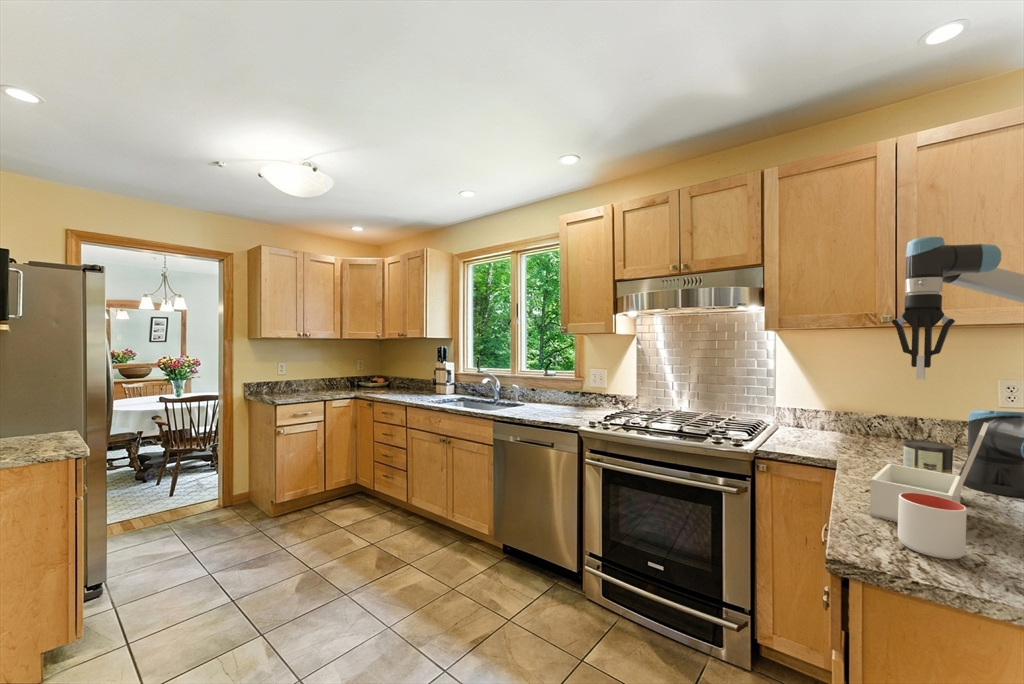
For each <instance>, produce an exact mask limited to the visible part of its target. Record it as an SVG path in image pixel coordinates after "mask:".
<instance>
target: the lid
mask: <svg viewBox="0 0 1024 684" xmlns="http://www.w3.org/2000/svg"><path fill="white" fill-rule="evenodd" d="M988 424H989V423H985V422H984V424H983V426H982V428H981V430H980V433H979V435H978V437H977V439H976V442H975V444H974V446H973V449H972V451H971V453H970V456H969V458H968V460H967V459H966V460H967V462H966V461H965V462H966V465H965V467H964V469H963V472H962V474H961V476H960V479H959V481H958V483H957V485H956V488H955V490H954V492H953V495H954V496H956V497H958V494H959V492H960V490H962V487H963V486H964V485H963V483H964V481H965V478H966V476H967V474H968V472H969V470H970V468H971V466H972V464H973V461H974V459H975V457H976V454H977V452H978V450H979V447H980V445H981V442H982V440H983V437H984V435H985V432H986V430H987V427H988Z"/></svg>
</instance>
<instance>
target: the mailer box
mask: <svg viewBox="0 0 1024 684" xmlns="http://www.w3.org/2000/svg"><path fill="white" fill-rule="evenodd" d="M959 479H960V476H959V475H957V474H956V475H955V474H952V475H951V474H945V473H940V472H934V471H928V470H923V469H917V468H912V467H906V466H903V465H899V464H894V463H888V462H887V464H886V465H885V466H884V467H882V468H881V469H880V470H879V471H878V472H877V473H876V474H875V475H874V476H873V477H871V479H870V491H869V492H870V494H869V516H870V515H871V516H870V517H872V516H874V517H873V518H876V517H878V518H877V519H880V518H882V519H881V520H884V519H887V520H886V521H888V520H890V521H889V522H892V521H894V522H893V523H895V522H897V523H896V524H898V504H899V494H901V493H920V494H927V495H932V496H937V497H941V498H945V499H948V500H952V501H954V502H957V503H959V504H961V495H962V494H961V490H962V489H961V490H960V492H959V494H958V497H956V496H954V495H953V492H954V490H955V488H956V485H957V483H958V481H959Z"/></svg>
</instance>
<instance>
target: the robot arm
mask: <svg viewBox="0 0 1024 684" xmlns="http://www.w3.org/2000/svg"><path fill="white" fill-rule="evenodd" d="M944 239H945V238H943V237H942V236H926V237H919V238H913V239H911V240H910V241H908V242H907V244H906V251H905V255H904V257H905V280H904V281H905V285H904V293H905V294H906V295H905V296H904V311H903V312H902V314H901V316H899V317H898V318H896V319H892V320H891V324H892V325H894V327H895V328H896V331H897V335H898V339H899V342H900V345H901V350H902V352H903V353H905V354H908V355H910V356H911V359H910V360H911V365H910V366H911V367H912V368H916V369H915V370H916V372H915V377H916V379H915V380H920V381H921V380H922V381H923V380H925V379H926V368H928V369H929V368H931V366H932V356H934V355H938V354H940V353H942V349H943V346H944V343H945V341H946V338H947V335H948V333H949V330H950V328H951V327H953V325H954V324H955V323H956V320H955V319H954V318H951V317H948V316H946V315H945V313H944V311H943V295H942V294H941V293H942V292H943V283H945V284H949V285H953V286H956V287H960V288H964V289H968V290H972V291H975V292H978V293H983V294H988V295H991V296H994V297H999V298H1002V299H1006V300H1010V301H1014V302H1018V303H1021V304H1024V273H1020V272H1016V271H1012V270H1009V269H1004V268H999V267H998V266H1000V264H1001V261H1002V251H1001V249H1000V247H998V246H997V245H995V244H989V243H987V244H986V243H985V244H983V243H976V244H975V243H971V244H945V240H944ZM941 320H942V321H941ZM904 321H905V322H906V323H907V324H908V325H909V326H910V327H911V349H910V346H909V342H908V339H907V336H906V332H905V329H904V326H903V325H904V324H905V322H904ZM940 321H941V324H942V327H941V329H940V332H939V335H938V338H937V341H936V342H935V343H936V344H935V346H934V349H933V350H932V345H933V344H932V343H933V342H932V340H933V339H932V338H933V328H934V327H935V326H936V325H937V324H938V323H939V322H940ZM920 328H923V329H924V347H923V348H924V349H923V355H919V354H920V353H919V352H920V351H919V350H920V330H921V329H920ZM984 422H985V423H989V424H988V427H987V430H986V432H985V435H984V437H983V440H982V442H981V445H980V447H979V450H978V452H977V454H976V457H975V459H974V461H973V464H972V466H971V468H970V470H969V472H968V474H967V476H966V478H965V481H964V483H963V485H962V486H965V487H968V488H971V489H973V490H977V491H980V492H986V493H989V494H995V495H999V496H1007V497H1016V498H1024V411H1009V410H1008V411H1007V410H1006V411H1005V410H987V409H986V410H985V409H976V410H975V409H973V410H971V411H970V412H969V414H968V420H967V424H968V428H967V456H966V460H965V461H964V463H963V466H962V467H961V469H960V471H959V472H958V476H961V474H962V472H963V469H964V467H965V465H966V462H967V460H968V458H969V456H970V453H971V451H972V449H973V446H974V444H975V442H976V439H977V437H978V435H979V433H980V430H981V428H982V426H983V424H984Z"/></svg>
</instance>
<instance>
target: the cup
mask: <svg viewBox="0 0 1024 684" xmlns="http://www.w3.org/2000/svg"><path fill="white" fill-rule="evenodd" d="M967 512H968V511H967V507H966V506H965V505H963V504H961V503H960V504H959V503H957V502H954V501H952V500H948V499H945V498H941V497H937V496H932V495H927V494H920V493H901V494H899V504H898V523H897V538H898V540H899V541H900V544H902V545H904V546H905V547H906V548H908V549H909V550H912V551H914V552H917V553H919V554H923V555H926V556H929V557H931V558H932V557H933V558H936V559H943V560H958V559H960V558H962V557H964V556H965V554H966V539H967V536H966V535H967V514H968V513H967Z"/></svg>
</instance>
